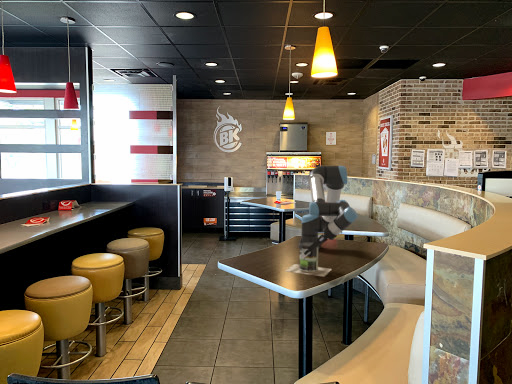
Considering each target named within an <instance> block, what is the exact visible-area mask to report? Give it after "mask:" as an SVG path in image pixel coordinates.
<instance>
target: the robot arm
mask: <svg viewBox="0 0 512 384" xmlns="http://www.w3.org/2000/svg"><path fill="white" fill-rule="evenodd" d="M307 182H308V183H307V184H308V185H309V186H310V195H311V196H310V197H311V202H309V204H308V213H309V214H305V215H302V217H301V236H300V238H299V239H300V240H299V243H298V248H299V249H300V243H303V242H312V243H313V244H312V245H311V246H309V247H306V248H307V249H306V250H305V251H304V252H303V253H301V254H300V253H299V255H298V257H299V259H300V258H301V259H302V260H303V259H304V258H305V257H306V256H307V255H308V254H309V253H311V252H312V250H314V249H315V248H316V247H317V246H318V245H319V246H318V250H319V249H321V247H322V245H323V244H325V242H327V241H328V240H330V241H333V240H334V239H336V238H337V236H339V235H340V234H343V231H344V230H345V229H347V228H348V227H350V225H351V224H353V223H354V222H355V221H356V220H357V219H358V217H359V214H358V213H357V211H356V210H355V209H354V208H353V207H351V205H350V204H349V202H348V201H347V200H345V199H341V193H342V189H343V188H344V186H345V185H348V171H347V167H346V165H345V166H344V165H319V166H316V167H314V168H312V170H311V171H310V172H309V174H308V177H307ZM324 185H325V186H326V188H327V191H326V193H327V194H326V197H325V190H324ZM319 234H321V235H320V236H319ZM310 248H311V249H310Z"/></svg>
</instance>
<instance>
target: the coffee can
mask: <svg viewBox="0 0 512 384" xmlns="http://www.w3.org/2000/svg"><path fill="white" fill-rule="evenodd" d="M312 244H313V243H312V242H303V243H300V248H299V255H300V254H301V253H303V252H304V251H305V250H306V249H307V248H306V247H309V246H311V245H312ZM318 246H319V245H318ZM318 246H317V247H316V248H315V249H314V250H312V252H311V253H309V254H308V255H307V256H306V257H305V258H304V259H303V260H302V259H301V258H300V257H299V264H298V265H299V269H300V270H301V271H305V272H315V271H317V270H318V267H319V249H318ZM310 249H311V248H310Z"/></svg>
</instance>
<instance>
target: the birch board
mask: <svg viewBox="0 0 512 384" xmlns="http://www.w3.org/2000/svg"><path fill="white" fill-rule="evenodd" d="M330 271H332V268H326V267H321V266H318V270H317V271H316V272H303V271H301V270H300V269H299V264H297V263H296V264H295V263H294V264H293V265H291V266H289V267H288V268H286V270H284V272H289V273H296V274H302V275H309V276H310V275H311V276H316V277H317V276H318V277H323V278H325V277H326V276H327V275H328V274H329V273H330Z"/></svg>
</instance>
